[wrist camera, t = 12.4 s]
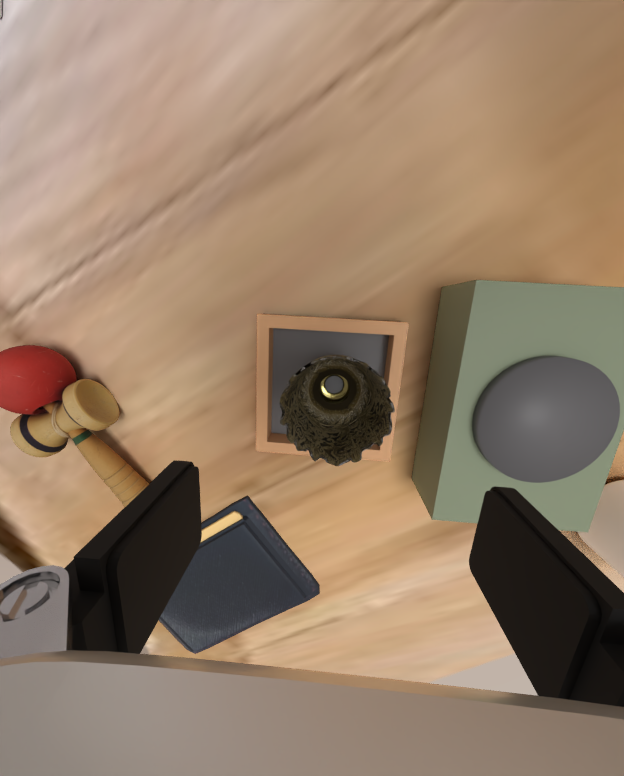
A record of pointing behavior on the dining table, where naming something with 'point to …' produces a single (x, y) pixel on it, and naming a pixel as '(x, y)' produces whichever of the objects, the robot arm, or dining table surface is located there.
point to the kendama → (62, 414)
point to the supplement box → (0, 8)
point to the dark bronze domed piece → (336, 409)
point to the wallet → (235, 579)
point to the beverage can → (608, 527)
